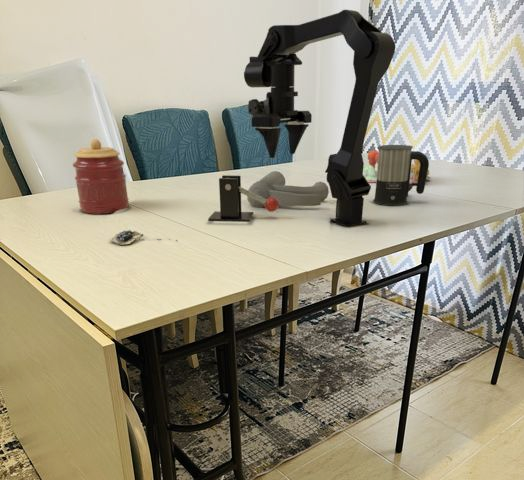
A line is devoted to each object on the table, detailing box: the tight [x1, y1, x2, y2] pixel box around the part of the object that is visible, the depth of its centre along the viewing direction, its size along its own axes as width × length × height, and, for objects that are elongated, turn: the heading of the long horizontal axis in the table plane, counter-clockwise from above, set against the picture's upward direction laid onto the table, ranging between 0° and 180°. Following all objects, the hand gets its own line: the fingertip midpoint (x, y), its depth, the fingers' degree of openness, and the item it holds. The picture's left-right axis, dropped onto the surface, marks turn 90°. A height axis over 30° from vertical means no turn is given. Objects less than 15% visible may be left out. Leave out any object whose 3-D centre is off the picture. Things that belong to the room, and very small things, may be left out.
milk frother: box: [373, 144, 430, 206], centre depth 144 cm, size 14×16×15 cm
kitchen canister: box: [72, 138, 130, 215], centre depth 135 cm, size 13×13×18 cm
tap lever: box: [227, 177, 279, 213], centre depth 124 cm, size 14×3×3 cm, turn 82°
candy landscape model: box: [363, 149, 432, 184], centre depth 174 cm, size 25×24×9 cm
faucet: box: [246, 170, 330, 208], centre depth 144 cm, size 7×21×26 cm
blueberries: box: [110, 229, 144, 246], centre depth 112 cm, size 7×8×2 cm
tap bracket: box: [207, 174, 254, 223], centre depth 125 cm, size 10×8×10 cm
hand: (282, 155), depth 131 cm, fingers open, 9 cm apart
